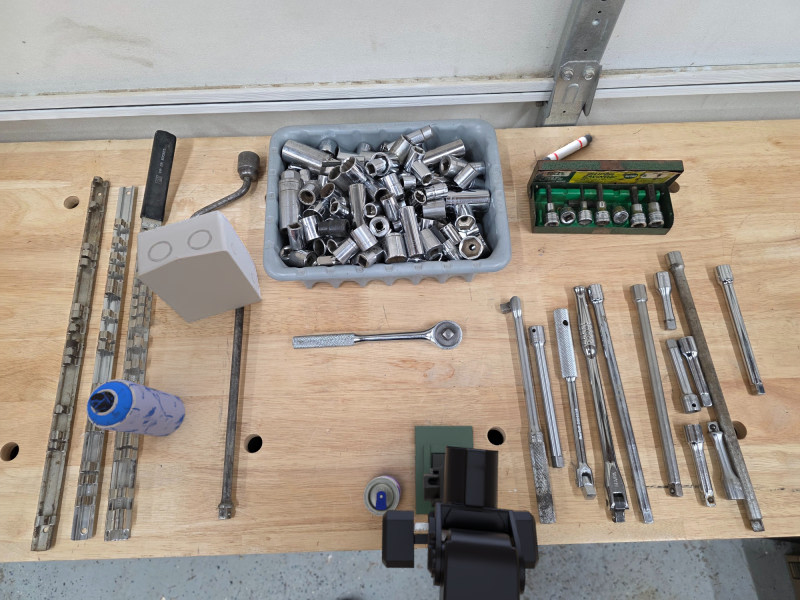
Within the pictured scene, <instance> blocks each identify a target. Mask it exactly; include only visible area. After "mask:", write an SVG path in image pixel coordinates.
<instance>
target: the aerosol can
mask: <svg viewBox="0 0 800 600" xmlns="http://www.w3.org/2000/svg"><path fill="white" fill-rule="evenodd" d="M85 413H86V417H87V419H88V420H89V422H90V423H91V424H92V425H93V426H94V427H96V428H98V429H100V430H106V431H110V432H111V431H112V432H119V433H126V434H127V433H129V434H136V435H145V436H152V437H159V438H160V437H166V436H169V435H171V434H174V432H176V431H177V430H178V429H179V428H180V427H181V425H182V423H183V422H184V419H185V415H186V408H185V404H184V402H183V400H182V399H181V398H180V397H178V396H177V395H175V394H172V393H169V392H166V391H163V390H160V389H156V388H153V387H151V386H146V385H143V384H140V383H137V382H133V381H131V380H127V379H122V378H115V379H109V380H108V379H107V380H106V381H104V382H102V383H100V384H98V386H96V387H95V388H94V389H93V391H92V392H91V393H90V395H89V397H88V399H87V401H86V407H85Z"/></svg>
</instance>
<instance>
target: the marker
mask: <svg viewBox="0 0 800 600" xmlns="http://www.w3.org/2000/svg"><path fill="white" fill-rule="evenodd" d="M592 142H593V136H592V134H590V133H587V134H585V135H584V136H581V137H580V138H578V139H576V140H573V141H572V142H571V143H568V144H566V145H565V146H563V147H561V148H559V149H557V150H556V151H554V152H552V153H551V154H549V155H546V157H543V158H542V159H541V160H558V161H560V160H562V159H564V158H565V157H567V156H569V155H571V154H573V153H575V152H577V151H578V150H580V149H582V148H584V147H585V146H588V145H589V144H590V143H592ZM535 167H536V166H534V167H533V169H534V168H535Z"/></svg>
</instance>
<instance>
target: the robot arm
mask: <svg viewBox="0 0 800 600" xmlns="http://www.w3.org/2000/svg"><path fill="white" fill-rule="evenodd" d="M423 496H424V501H430V502H431V507H435V510H432V511H430V512H429V514H427V522H415V510H413V509H395V510H387V511H386V512H385V513H384V514H383V516H381V517H382V518H381V519H382V520H381V563H382V565H384V567H385V568H386V569H415V545H427V556H426V558H427V559H426V560H427V562H426V563H427V564H426V570H427V571H428V572H429V574H430V578H431V579H432V586H434V587H439V592H438V593H439V595H438V599H439V600H521V596H523V595H524V593H525V591H526V590H525V589H526V577H527V576H526V570H535V569H536V567H537V566H538V565H539V560H540V556H539V544H538V533H537V531H538V530H537V522H536V519H535V516H534V515H533V514H532V512H531V511H529V510H527V509H525V510H524V509H509V508H500V507H499V506H498V503H499V502H498V501H499V450H494V449H493V450H492V449H483V448H475V447H473V448H464V447H453V446H446V451H445V465H442V466H441V467H440V468H433V469H430V473H429V474H424V475H423ZM498 507H499V508H498ZM423 531H424V532H425V533H423ZM426 531H427V532H426ZM417 532H418V533H417ZM419 532H421V533H419Z"/></svg>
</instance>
